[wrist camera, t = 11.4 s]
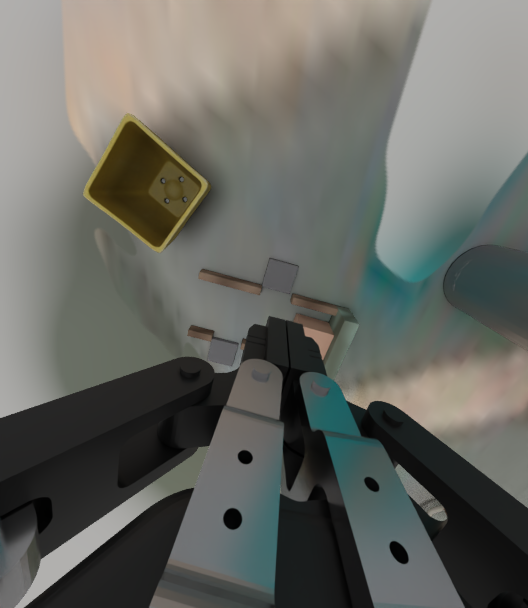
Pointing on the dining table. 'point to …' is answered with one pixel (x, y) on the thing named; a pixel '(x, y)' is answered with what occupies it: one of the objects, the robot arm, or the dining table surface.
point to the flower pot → (145, 185)
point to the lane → (340, 320)
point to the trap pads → (275, 278)
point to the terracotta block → (316, 331)
